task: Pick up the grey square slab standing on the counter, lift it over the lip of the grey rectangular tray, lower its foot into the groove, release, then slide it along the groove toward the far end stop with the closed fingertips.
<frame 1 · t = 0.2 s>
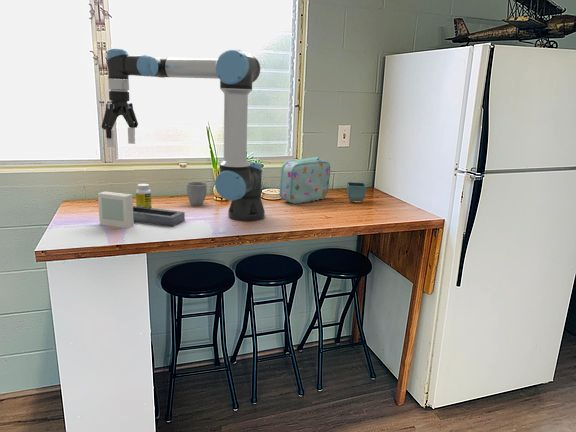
hand: (121, 145, 189), 28 cm above the table, fingers open, 13 cm apart
grey rectangular tray: (151, 220, 186), on the table
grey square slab: (116, 224, 177), on the table
lunch box: (304, 201, 229), on the table
pill bottle: (144, 210, 200), on the table
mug: (195, 204, 215), on the table
flower pot: (355, 202, 231), on the table
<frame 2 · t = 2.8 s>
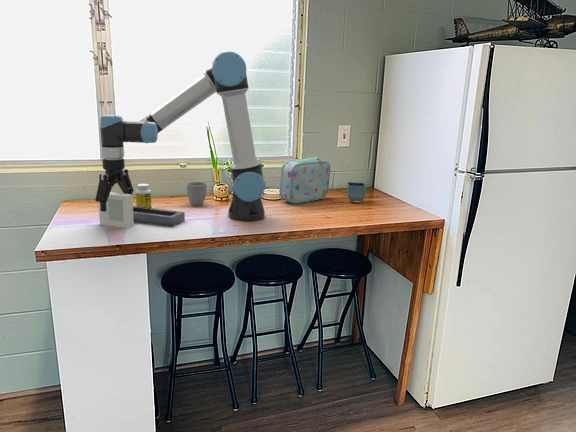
hand: (116, 215, 177), 4 cm above the table, fingers open, 12 cm apart
nothing on the table moved.
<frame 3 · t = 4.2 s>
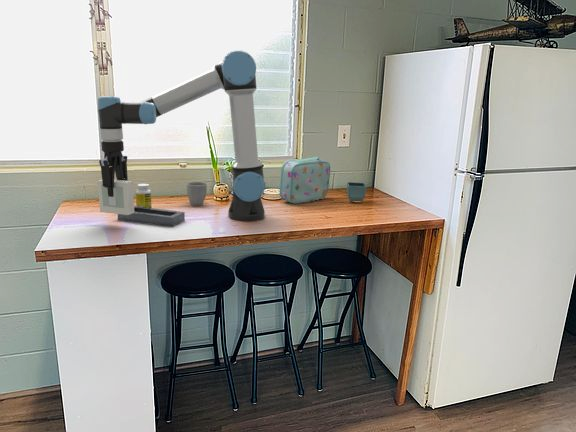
hand: (117, 203, 175), 8 cm above the table, fingers closed on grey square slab, 4 cm apart
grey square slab: (117, 212, 176), point 5 cm above the table, touching gripper
everything else where it was.
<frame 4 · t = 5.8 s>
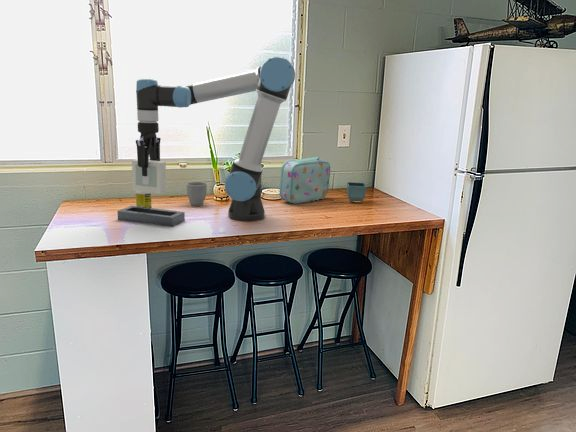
hand: (149, 183, 182), 15 cm above the table, fingers closed on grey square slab, 4 cm apart
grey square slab: (149, 191, 183), point 11 cm above the table, touching gripper
everything else where it was.
when the fingers open (4 cm above the table, at t = 7.4 s): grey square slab stays where it is, resting on grey rectangular tray.
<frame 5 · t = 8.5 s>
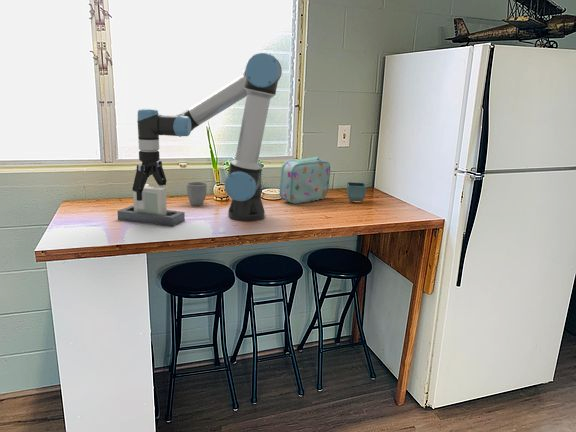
hand: (151, 204, 184), 6 cm above the table, fingers open, 13 cm apart
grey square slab: (150, 217, 185), point 1 cm above the table, touching grey rectangular tray
everything else where it was.
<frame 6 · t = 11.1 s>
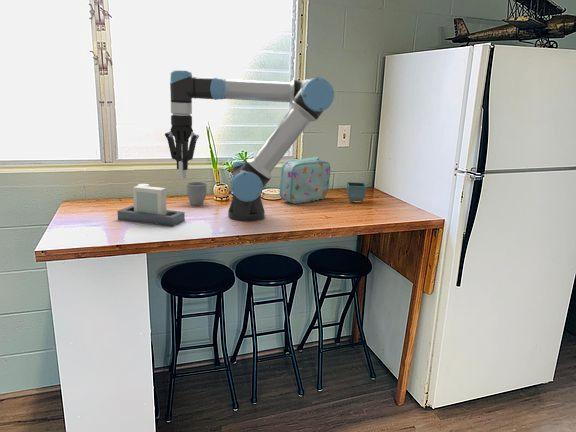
hand: (182, 178, 177), 18 cm above the table, fingers closed
nothing on the table moved.
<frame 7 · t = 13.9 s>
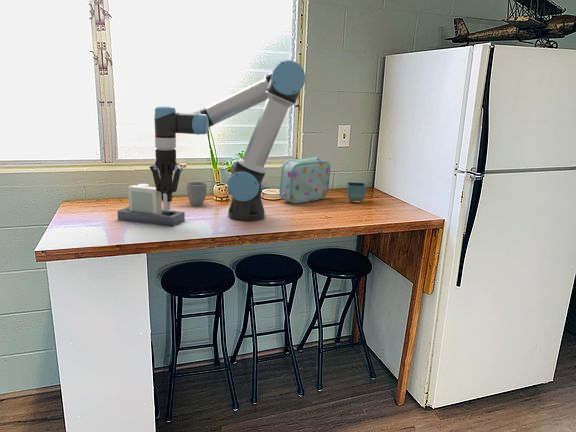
hand: (166, 209, 182), 5 cm above the table, fingers closed
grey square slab: (145, 216, 186), point 1 cm above the table, touching grey rectangular tray, gripper, hand
everything else where it was.
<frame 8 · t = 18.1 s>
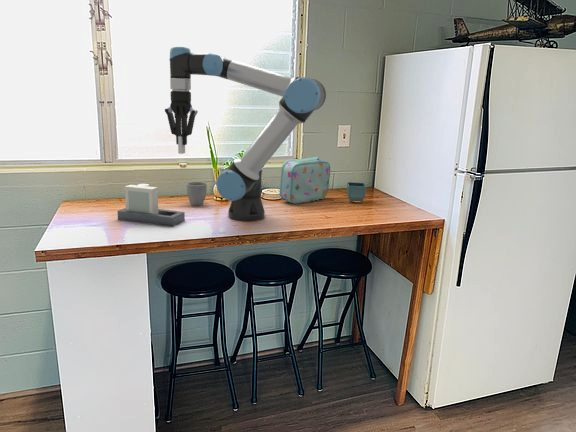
hand: (181, 153, 183), 26 cm above the table, fingers closed
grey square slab: (142, 216, 186), point 1 cm above the table, touching grey rectangular tray
everything else where it was.
at the end: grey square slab inside the target area on the grey rectangular tray (1.8 cm from its centre), point 1.0 cm above the grey rectangular tray's base; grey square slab tilted 0°; the gripper is holding nothing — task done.
